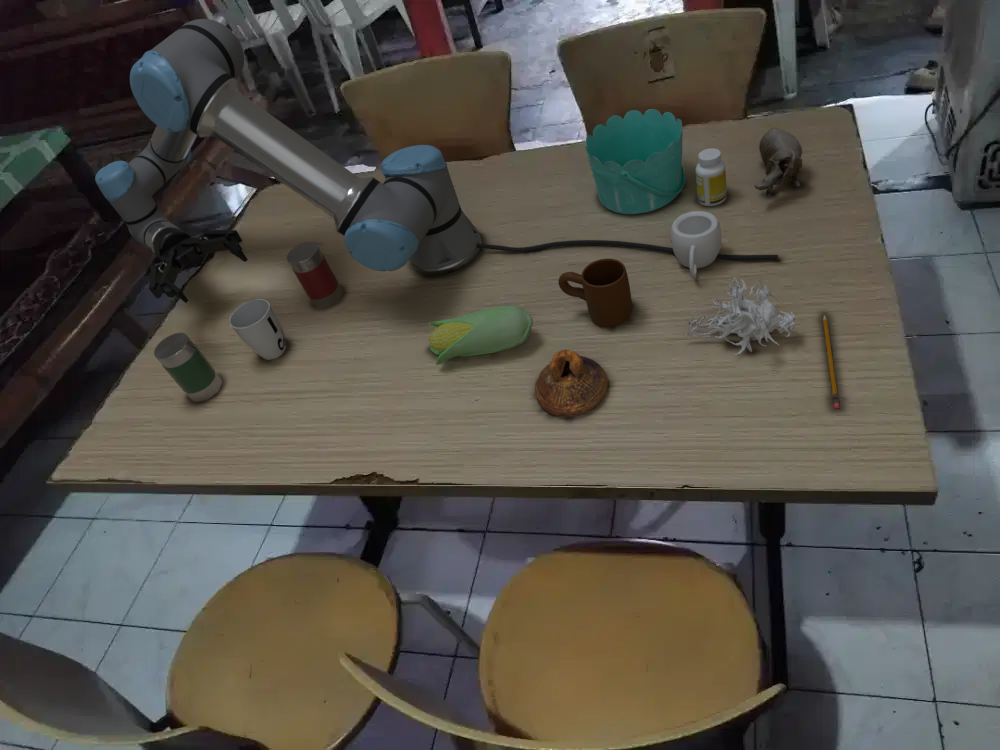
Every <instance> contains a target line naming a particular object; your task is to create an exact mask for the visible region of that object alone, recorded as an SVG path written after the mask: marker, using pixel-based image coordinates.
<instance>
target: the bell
mask: <svg viewBox="0 0 1000 750" xmlns="http://www.w3.org/2000/svg"><path fill="white" fill-rule="evenodd" d="M608 380H609V379H608V375H607V372H606V371H605V369H604V368H603V367H602V366H601V365H600V364H599V363H598V362H597V361H595V360H593V359H592V358H589V357H587V356H583V355H580V354H578V353H577V352H576V351H573V350H571V349H561V350H559V351H556V352H555V353H554V355H553V356H552V358H551V360H550V361H549V363H548V364H547V365H546V366H544V368H543V369H542V370H541V371H540V373H539V375H538V376H537V379H536V381H535V383H534V393H535V397H536V398H535V399H536V401H537V404H538V405H539V406H540V407H541V408H542V409H543V410H544V411H546V412H547V413H548V414H551V415H552V416H555V417H559V416H563V417H567V418H570V417H576V416H580V415H582V414H585V413H587V412H589V411H590V410H592V409H594V408H595V407H596V406H597V405H598V404H599V403H600V402H601V401H602V399H603V398H604V397H605V395H606V391H607V390H608V383H609V382H608Z"/></svg>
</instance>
